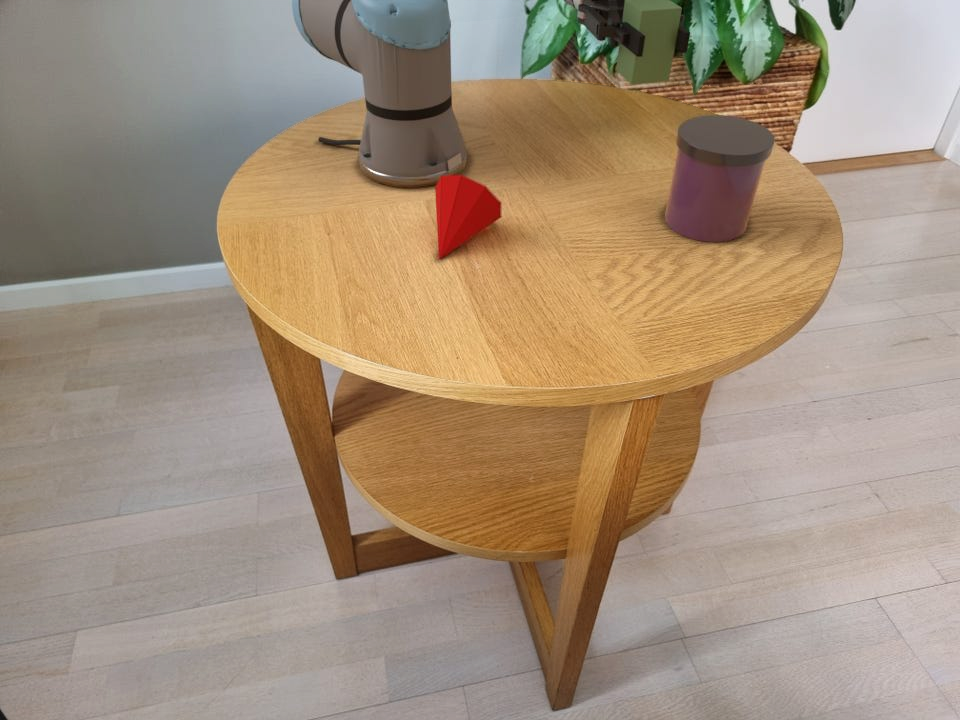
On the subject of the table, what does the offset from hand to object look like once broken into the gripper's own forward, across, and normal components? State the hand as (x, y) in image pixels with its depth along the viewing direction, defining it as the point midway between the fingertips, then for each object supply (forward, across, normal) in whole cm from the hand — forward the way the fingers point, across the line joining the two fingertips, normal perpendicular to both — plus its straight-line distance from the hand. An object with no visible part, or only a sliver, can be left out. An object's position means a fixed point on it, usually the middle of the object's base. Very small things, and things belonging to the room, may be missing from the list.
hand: (663, 44), depth 97 cm
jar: (+24, +3, -14) cm, 28 cm away
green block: (-5, 0, -6) cm, 8 cm away
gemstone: (+21, +33, -14) cm, 42 cm away
